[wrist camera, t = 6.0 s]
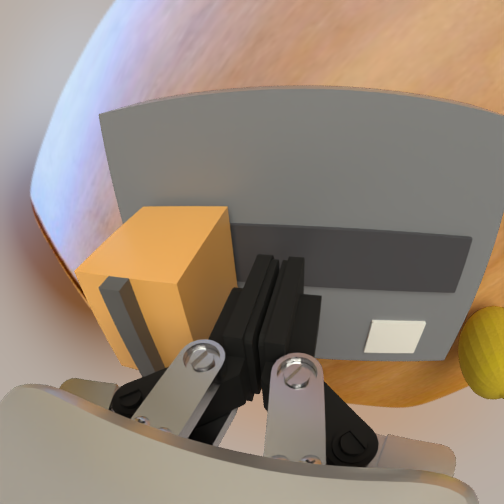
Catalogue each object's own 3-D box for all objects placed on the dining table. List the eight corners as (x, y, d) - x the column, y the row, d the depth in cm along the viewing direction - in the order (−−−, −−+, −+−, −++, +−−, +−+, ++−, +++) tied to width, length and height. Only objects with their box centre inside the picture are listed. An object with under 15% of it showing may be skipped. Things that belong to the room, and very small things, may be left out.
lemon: (468, 279, 17) (506, 370, 11) (517, 289, 16) (556, 368, 10) (436, 333, 20) (455, 421, 14) (485, 339, 20) (508, 416, 13)
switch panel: (470, 104, 12) (521, 121, 7) (429, 306, 19) (444, 362, 15) (151, 99, 16) (95, 115, 11) (188, 290, 23) (160, 340, 19)
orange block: (227, 206, 12) (167, 298, 8) (239, 301, 15) (203, 398, 10) (143, 206, 13) (64, 282, 8) (166, 293, 16) (115, 375, 11)
